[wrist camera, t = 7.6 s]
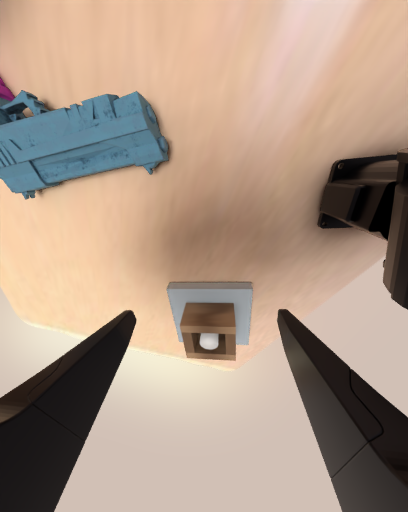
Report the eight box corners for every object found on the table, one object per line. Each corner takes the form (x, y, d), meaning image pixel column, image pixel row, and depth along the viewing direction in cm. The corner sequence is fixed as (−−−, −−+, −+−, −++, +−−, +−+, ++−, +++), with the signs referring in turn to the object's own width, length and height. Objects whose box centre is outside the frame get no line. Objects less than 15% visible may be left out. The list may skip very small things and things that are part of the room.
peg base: (250, 282, 22) (258, 312, 17) (247, 336, 28) (252, 371, 23) (169, 282, 24) (156, 310, 19) (181, 334, 29) (173, 366, 24)
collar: (233, 302, 22) (235, 327, 19) (233, 334, 26) (235, 360, 22) (186, 302, 23) (179, 325, 20) (191, 333, 27) (187, 357, 23)
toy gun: (119, -88, 10) (177, 169, 17) (-84, 20, 14) (34, 199, 21) (62, -230, 7) (165, 170, 14) (-197, -35, 10) (-6, 206, 17)
